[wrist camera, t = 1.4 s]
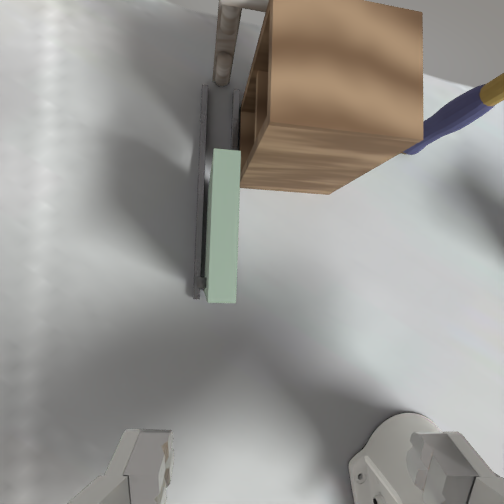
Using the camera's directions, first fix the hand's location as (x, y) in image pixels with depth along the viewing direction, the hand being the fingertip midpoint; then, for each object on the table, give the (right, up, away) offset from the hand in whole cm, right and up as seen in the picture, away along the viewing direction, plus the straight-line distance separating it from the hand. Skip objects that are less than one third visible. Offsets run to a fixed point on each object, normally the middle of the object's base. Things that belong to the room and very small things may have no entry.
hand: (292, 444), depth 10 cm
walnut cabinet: (+2, +24, +36) cm, 43 cm away
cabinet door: (-7, +8, +33) cm, 35 cm away
